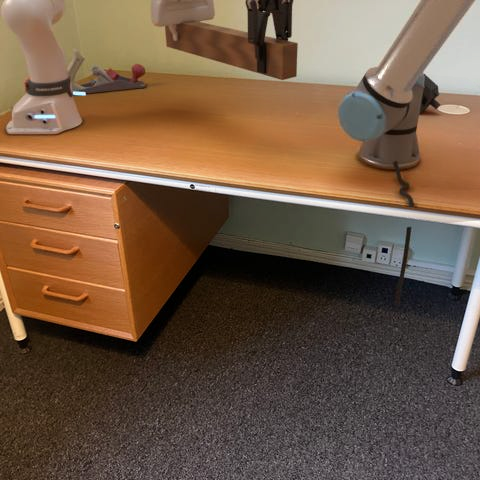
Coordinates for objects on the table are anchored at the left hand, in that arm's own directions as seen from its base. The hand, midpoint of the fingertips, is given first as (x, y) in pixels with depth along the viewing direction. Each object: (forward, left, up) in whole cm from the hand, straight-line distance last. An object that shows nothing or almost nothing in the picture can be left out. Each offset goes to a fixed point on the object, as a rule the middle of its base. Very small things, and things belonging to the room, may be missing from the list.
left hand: (185, 38), depth 159 cm
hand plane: (-29, +36, -24) cm, 52 cm away
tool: (+70, -8, -24) cm, 74 cm away
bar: (+10, -16, -3) cm, 19 cm away
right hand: (+19, -33, -2) cm, 38 cm away
